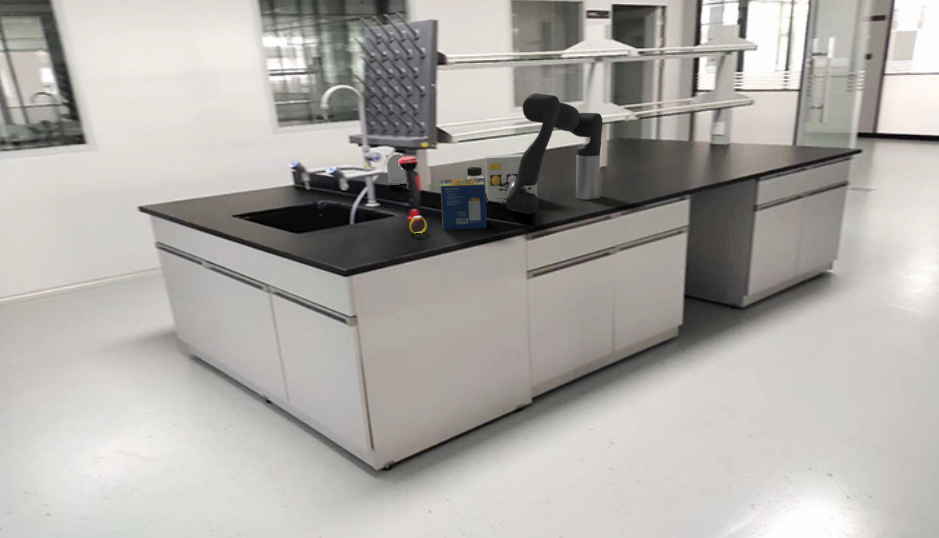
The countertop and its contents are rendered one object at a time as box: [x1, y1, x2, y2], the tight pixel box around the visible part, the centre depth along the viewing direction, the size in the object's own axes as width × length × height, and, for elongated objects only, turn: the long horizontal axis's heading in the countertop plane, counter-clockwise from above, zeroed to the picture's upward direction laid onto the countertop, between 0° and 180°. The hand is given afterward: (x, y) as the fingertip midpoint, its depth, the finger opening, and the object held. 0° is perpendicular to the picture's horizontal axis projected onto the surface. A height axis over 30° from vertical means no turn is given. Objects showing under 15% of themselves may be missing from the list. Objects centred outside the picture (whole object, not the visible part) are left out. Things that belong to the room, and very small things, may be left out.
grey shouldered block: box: [385, 152, 407, 184], centre depth 287 cm, size 8×6×15 cm
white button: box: [507, 174, 516, 182], centre depth 243 cm, size 4×5×4 cm
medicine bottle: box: [466, 165, 486, 183], centre depth 260 cm, size 7×7×12 cm
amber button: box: [491, 175, 500, 185], centre depth 245 cm, size 4×5×4 cm
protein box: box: [440, 177, 487, 230], centre depth 215 cm, size 10×15×16 cm
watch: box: [408, 215, 428, 235], centre depth 209 cm, size 6×3×6 cm, turn 116°
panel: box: [485, 153, 538, 200], centre depth 247 cm, size 20×6×18 cm, turn 91°
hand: (513, 182), depth 239 cm, fingers closed
